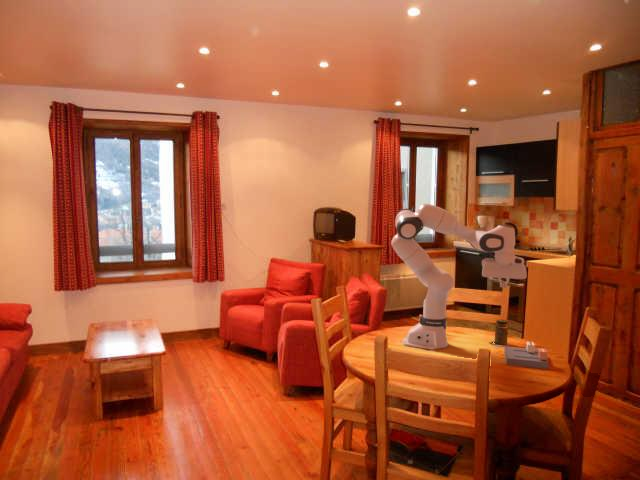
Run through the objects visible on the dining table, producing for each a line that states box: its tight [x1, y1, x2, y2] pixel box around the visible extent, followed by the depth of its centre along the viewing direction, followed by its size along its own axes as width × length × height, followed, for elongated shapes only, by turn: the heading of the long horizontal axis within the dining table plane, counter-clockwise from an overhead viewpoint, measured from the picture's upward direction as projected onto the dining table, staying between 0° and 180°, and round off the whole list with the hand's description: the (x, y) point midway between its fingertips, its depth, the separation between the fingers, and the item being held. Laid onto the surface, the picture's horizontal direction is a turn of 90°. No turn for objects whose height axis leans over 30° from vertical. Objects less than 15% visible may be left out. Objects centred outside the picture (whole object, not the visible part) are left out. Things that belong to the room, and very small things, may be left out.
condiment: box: [488, 319, 511, 348], centre depth 250 cm, size 7×8×12 cm
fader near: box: [538, 348, 548, 360], centre depth 218 cm, size 3×5×4 cm, turn 163°
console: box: [503, 345, 549, 370], centre depth 225 cm, size 17×18×3 cm
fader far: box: [525, 341, 536, 353], centre depth 228 cm, size 3×5×4 cm, turn 163°
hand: (503, 287), depth 238 cm, fingers closed
